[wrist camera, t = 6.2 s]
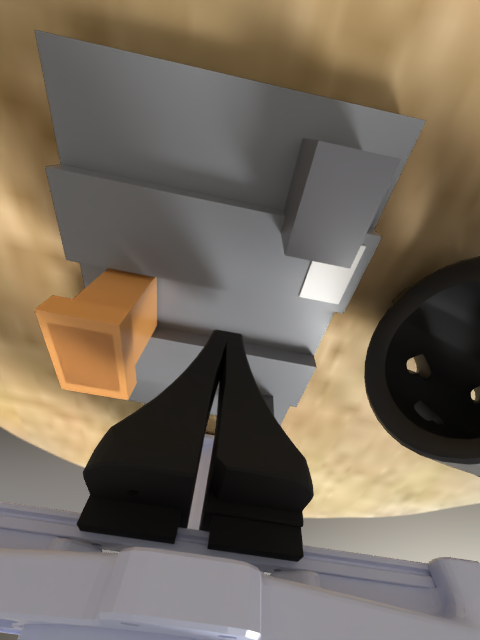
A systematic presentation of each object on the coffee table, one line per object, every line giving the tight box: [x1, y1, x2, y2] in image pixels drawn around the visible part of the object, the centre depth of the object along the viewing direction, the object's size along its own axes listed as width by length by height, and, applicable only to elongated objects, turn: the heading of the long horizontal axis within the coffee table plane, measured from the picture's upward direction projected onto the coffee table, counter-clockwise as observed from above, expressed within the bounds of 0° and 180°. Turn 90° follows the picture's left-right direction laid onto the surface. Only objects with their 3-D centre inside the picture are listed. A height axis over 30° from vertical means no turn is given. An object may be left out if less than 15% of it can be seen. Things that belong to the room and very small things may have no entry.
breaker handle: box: [34, 268, 157, 400], centre depth 13 cm, size 4×3×5 cm
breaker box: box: [35, 30, 426, 425], centre depth 14 cm, size 20×14×6 cm
